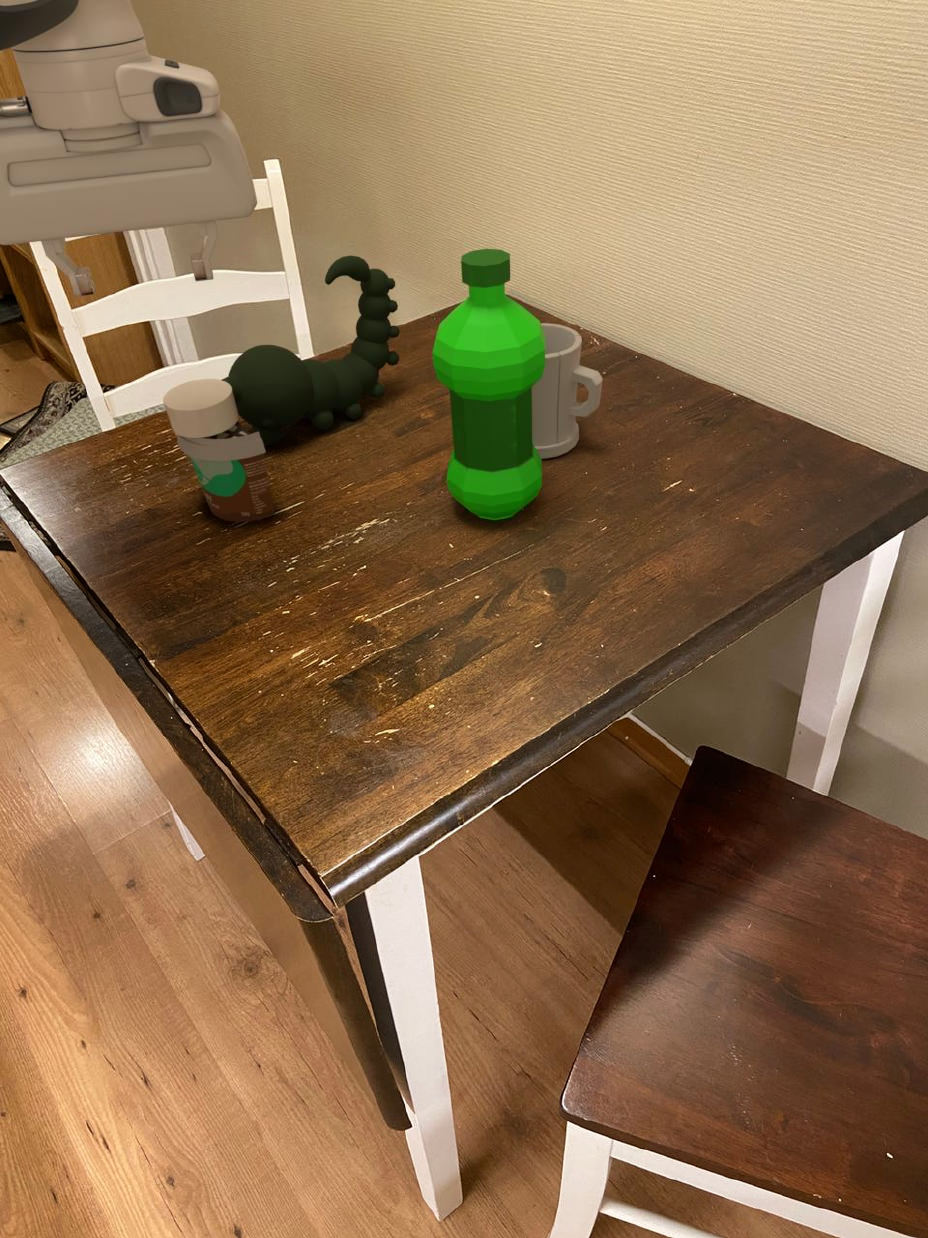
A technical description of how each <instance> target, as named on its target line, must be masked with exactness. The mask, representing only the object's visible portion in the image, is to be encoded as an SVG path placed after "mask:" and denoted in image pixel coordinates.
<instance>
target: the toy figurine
mask: <svg viewBox="0 0 928 1238" xmlns="http://www.w3.org/2000/svg"><path fill="white" fill-rule="evenodd" d="M340 277H349V278H350V279H352V280H353V281H356V282H360V284H359V286H360V291H361V292H362V293H361V294H360V295H359V298H358V301H357V307H358V312H359V314H360V316H359V317H358V319H357V321H356V325H355V334H356V337H355V338H354V339H353V342H352V344H351V348H350V352H349V353H347V354H346V355H344V356H343V357H342V358H335V359H329V360H326V361H324V362H323V361H320V360H317V359H314V358H306V359H303V360H302V358H300V357H299V356H298V355H296V353H294V352H293V351H292V350H290V349H288V348H286V347H282V346H279V345H275V344H260V345H255V346H253V347H249V348H248V349H247V350H245V351H244V352H242V353H240V355H239V356H238V357H237V358H236V359H235V360H234V362H233V363H232V365H231V367H230V369H229V371H228V376H226V377H224V378H222V379H221V380H222V381H225V382H227V383H229V384H230V385H231V387H232V391H233V394H234V398H235V402H236V406H237V410H238V414H239V418H241V419H242V420H244V422H246V423H247V424H249V425H251V426H250V431H251V434H253V433H256V432H259V434H260V438H261V439H262V442H263V445H264V446H275V445H278V444H279V443H280V442H281V441H282V439H283V435H284V431H283V430H284V429H287V428H290V427H291V426H293V425H295V424H297V423H298V422H299V421H301V419H302V418H304V419H307V420H311V422H312V424H313V426H314V427H316V428H318V429H321V430H326V429H328V428H330V427H332V425H333V423H334V415H333V412H334V413H343V412H344V414H345V415H346V417H348V418H349V419H350V420H355V419H358V418H360V416H361V415H362V409H363V408H362V406H361V405H360V404H359V402H360V400H362V396H364V395H367V394H369V397H370V398H373V399H376V400H381V399H382V398H383V397H384V396H385V395H386V392H387V391H386V388H385V387H386V386H385V385H384V384H383V383H381V382H379V377H380V370H382V369H383V368H384V367H385V365H386V364H387V365H389V366H396V365H398V363H399V361H400V354H398V353H397V351H395V350H390V348H389V344H388V342H389V340H390V338H391V339H394V338H398V337H399V335H400V331H401V330H400V328H399V327H398V326H397V325H391V321H390V319H389V316H391V314H393V313H395V312H397V311H398V309H399V308H398V307H399V304H398V303H397V301H396V300H394V299H391V297H390V295H389V293H390V290H393V289H394V288H395V287H396V281H395V279H394V278H393V277H389V276H388V274H387V273H386V272H384V271H383V270H382V269H380V268H370V265H369V264H368V261H366V260H365V259H364V258H362V257H360V256H357V255H343V256H341V257H339V258H338V259H336V260H334V262H333V263H332V264H330V266H329V267H328V269H327V272H326V274H325V277H324V282H325V284H326V285H328V286H329V285H331V284H332V283H333V282H335V280H336V279H338V278H340Z"/></svg>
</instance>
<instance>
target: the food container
mask: <svg viewBox="0 0 928 1238" xmlns="http://www.w3.org/2000/svg"><path fill="white" fill-rule="evenodd" d="M176 441H177V442H176V443H177V446H178V448H179V449H180V450H181V451H182V452H183V453H184V454H185V455H188V456H189V458H190V461H191V464H192V467H193V469H194V471H195V474H196V477H197V480H198V482H199V485H200V487H201V490H202V493H203V495H204V498H205V499H206V503H207V506H208V507H209V510H210V512H211V513H212V514H213V515H214V516H215V517H217V518H219V519H221V520H226V521H230V522H253V521H257V520H263V519H266V518H269V517H272V516H274V515H276V511H275V505H274V501H273V500H274V499H273V494H272V490H271V485H270V479H269V475H268V469H267V465H266V460H265V453H267V451H266V449H265V444H263V442H262V439H261V438H260V434H259V432H256V433H252V432H250V431H248V430H247V428H245V427H244V426H243V424H242V423H240V422H239V420H238V421H237V422H236V424H235V425H234V426H232V427H231V428H230V429H228V430H226V431H224V432H222V433H219V434H216V435H213V436H208V437H202V438H187V437H182V436H179V435H177V434H176Z"/></svg>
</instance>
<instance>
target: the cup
mask: <svg viewBox="0 0 928 1238" xmlns="http://www.w3.org/2000/svg"><path fill="white" fill-rule="evenodd" d="M540 323H541V322H540ZM541 326H542V328H543V331H544V333H545V366H544V371H543V375H542V377H541V378H540V379H539V380H538V381H537V382H536V383H535V384H534V385H533V386H532V443H533V445H534V446H535V448H536V449H537V451H538V453H539V455H540V457H541V460H545V459H546V460H547V459H551V458H557V457H559V456H563V455H565V454H566V453H568V452H569V451H571V450H572V449H574V448H575V447H576V445H577V444H578V442H579V440H580V429H579V424H578V422H577V421H576V417H580V418H581V417H582V418H587V417H589V416H590V415H591V414H592V413H593V412H595V411H596V410H598V409H599V407H600V405H601V396H602V390H603V389H602V388H603V380H604V379H603V376H602V375H601V374H600V372H599V371H598V370H596V369H592V368H589V367H586V366H584V365H581V364H580V361H581V355H582V354H581V352H582V345H583V340H582V336H581V334H580V333H579V332H578V331H577V330H576V329H573V328H571V327H569V326H566V325H562V324H558V323H549V322H548V323H546V322H542V323H541ZM578 383H579V384H582V385H584V387H585V388H586V391H588V396H587V399H586V400H585V401H584V402H581V401H577V396H578V395H577V393H578Z"/></svg>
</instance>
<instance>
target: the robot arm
mask: <svg viewBox="0 0 928 1238" xmlns="http://www.w3.org/2000/svg"><path fill="white" fill-rule="evenodd" d="M8 49H11V51H12V53H13V57H14V60H15V63H16V66H17V70H18V72H19V75H20V78H21V82H22V85H23V88H24V91H25V94H26V96H17V97H7V98H2V99H0V245H1V246H11V245H19V244H27V243H36V242H40V243H41V246H42V248H43V252H44V254H45V256H46V258H47V259H49V260H50V261H51V262H52V264H53V265H54V266H56V267H57V268H58V269H59V270H60V271H61V272H62V273H63V274H64V275H65V276H66V277H68V279H69V282H70V283H69V284H70V286H71V289H72V292H73V294H74V296H75V297H85V296H91V295H95V293H96V285H95V281H94V280H93V278H92V273H91V272H92V271H91V268H90V266H81V267H79V266H78V264H76V263H75V262H74V261H73V260H72V259H71V257H69V255H68V254H67V253H66V252H65V250H66V247H67V241H66V239H71V238H79V237H88V236H96V235H105V234H106V235H107V234H115V233H122V232H131V231H140V230H147V229H148V230H149V229H156V228H157V229H158V228H165V227H166V228H167V227H174V226H182V225H191V224H197V230H198V233H199V236H200V237H202V238H204V239H203V242H202V245H201V248H200V251H199V252H197V253H190V254H189V255H190V256H189V257H190V263H191V264H190V265H191V268H192V270H193V277H194V280H195V282H203V281H210V280H214V278H215V277H214V271H213V267H212V262H211V257H212V255H213V252H214V249H215V245H216V243H217V239H218V237H219V234H218V226H217V222H219V221H226V220H233V219H235V220H236V219H243V218H248V217H251V216H252V215H253V213H254V211H255V210H256V208H257V205H258V198H257V193H256V189H255V184H254V179H253V175H252V172H251V168H250V165H249V161H248V159H247V155H246V152H245V149H244V147H243V144H242V141H241V138H240V135H239V133H238V131H237V128H236V125H235V124H234V122H233V120H232V119H231V117H230V116H229V115H228V114H227V113H226V112H225V111H224V110H223V109H222V108H220V106H221V91H220V87H219V82H218V81H217V79H216V77H215V76H214V74H212V73H211V72H210V71H209V70H207V69H205V68H202V67H198V66H195V65H191V64H187V63H183V62H179V61H174V60H170V59H167V58H162V57H159V56H155V55H152V54H150V53H149V51H148V45H147V42H146V37H145V34H144V30H143V27H142V24H141V23H140V21H139V18H138V17H137V15H136V12H135V10H134V7H133V5H132V2H131V0H0V53H1V52H4V51H6V50H8Z"/></svg>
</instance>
